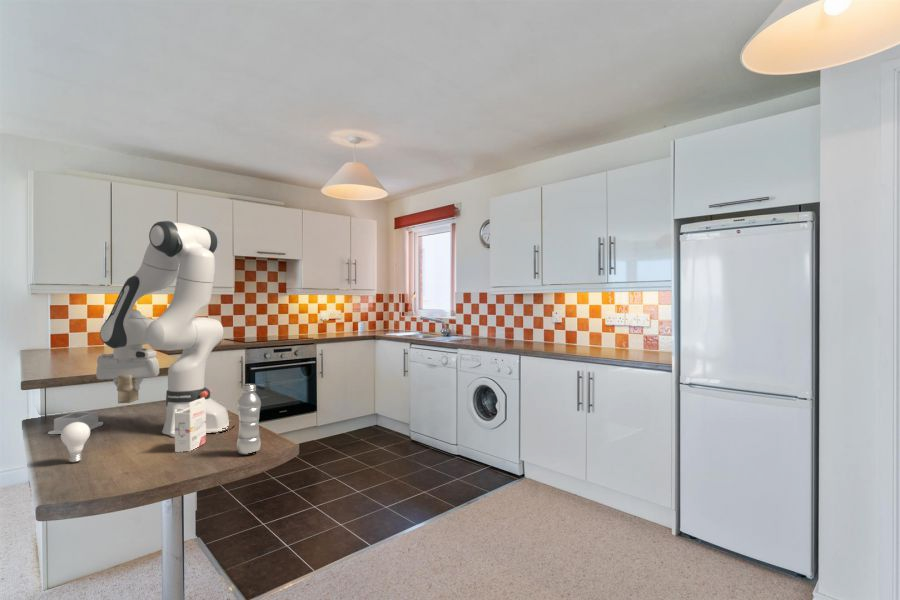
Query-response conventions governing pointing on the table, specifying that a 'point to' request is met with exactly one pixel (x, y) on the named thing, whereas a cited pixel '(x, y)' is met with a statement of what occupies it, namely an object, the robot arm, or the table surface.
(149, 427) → the table surface
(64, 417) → the cartridge dock
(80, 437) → the lightbulb
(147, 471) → the table surface
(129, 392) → the birch peg block
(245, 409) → the plastic bottle
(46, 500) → the table surface
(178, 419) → the ink cartridge box
